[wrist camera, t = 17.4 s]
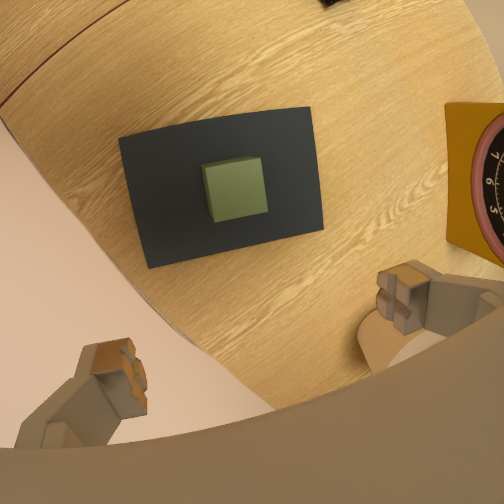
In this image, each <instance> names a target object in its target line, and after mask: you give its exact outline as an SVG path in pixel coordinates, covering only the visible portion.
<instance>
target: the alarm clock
mask: <svg viewBox="0 0 504 504" xmlns="http://www.w3.org/2000/svg"><path fill="white" fill-rule="evenodd" d="M445 115H446V128H447V144H448V218H447V235H446V240H447V241H448V242H450V243H452V244H455V245H457V246H459V247H461V248H463V249H465V250H467V251H469V252H472V253H474V254H476V255H478V256H480V257H482V258H484V259H486V260H488V261H490V262H492V263H494V264H496V265H498V266H500V267H502V268H504V103H446V104H445Z"/></svg>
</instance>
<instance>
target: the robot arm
mask: <svg viewBox="0 0 504 504" xmlns="http://www.w3.org/2000/svg"><path fill="white" fill-rule="evenodd" d="M377 285H378V286H379V287H380V290H379V291H378V293H377V295H376V304H377V308H378V311H379V313H380V314H381V316H382V317H383V318H384V319H385V320H389V321H393V327H395V328H396V329H397V330H398V331H399V332H400V333H401V334H403V335H404V336H406V335H409V334H411V333H413V332H416V331H418V330H420V329H422V328H424V329H425V330H428V331H431V332H434V333H436V334H439V335H442V336H445V337H448V338H447V339H445V340H443V341H441V342H439V343H437V344H435V345H434V346H432V347H430V348H428V349H426V350H424V351H422V352H420V353H418V354H416V355H414V356H412V357H410V358H408V359H406V360H404V361H402V362H400V363H397V364H395V365H393V366H391V367H389V368H387V369H384V370H382V371H380V372H378V373H375V374H373V375H371V376H368V377H366V378H364V379H361V380H359V381H357V382H354V383H352V384H349V385H347V386H344V387H342V388H339V389H337V390H334V391H331V392H329V393H326V394H323V395H321V396H318V397H315V398H312V399H309V400H306V401H304V402H301V403H298V404H295V405H292V406H289V407H285V408H282V409H279V410H276V411H273V412H270V413H266V414H262V415H259V416H255V417H252V418H248V419H245V420H241V421H237V422H233V423H230V424H225V425H221V426H217V427H213V428H208V429H204V430H199V431H195V432H190V433H184V434H179V435H174V436H169V437H163V438H157V439H151V440H144V441H137V442H129V443H121V444H113V445H107V443H108V441H109V440H110V438H111V437H112V435H113V433H114V432H115V430H116V429H117V427H118V426H119V424H120V422H121V420H123V419H128V418H134V417H139V416H144V415H147V398H146V396H145V394H144V392H145V391H146V390H147V379H146V374H145V371H144V367H143V365H142V363H141V360H139V359H138V358H136V357H135V346H134V344H133V342H132V340H131V339H130V338H124V339H118V340H112V341H107V342H101V343H95V344H90V345H86V346H84V347H83V349H82V352H81V356H80V359H79V362H78V365H77V369H76V372H75V375H74V378H71V379H69V380H67V381H66V382H65V383H64V384H63V385H62V386H61V387H60V388H59V389H58V390H56V391H55V392H54V393H53V394H52V395H51V396H50V397H49V398H48V399H47V400H46V401H45V402H44V403H43V404H42V405H40V406H39V407H38V408H37V409H36V410H35V411H34V412H33V413H32V414H31V415H30V416H29V417H28V418H27V419H25V421H24V422H22V424H21V427H20V430H19V434H18V437H17V440H16V443H15V446H14V448H0V504H504V282H501V281H494V280H487V279H480V278H473V277H465V276H458V275H451V274H445V275H443V274H441V273H439V272H437V271H435V270H434V269H432V268H430V267H428V266H426V265H425V264H423V263H421V262H419V261H417V260H410V261H407V262H405V263H402V264H400V265H397V266H394V267H391V268H389V269H386V270H383V271H380V272H379V273H378V275H377Z"/></svg>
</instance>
